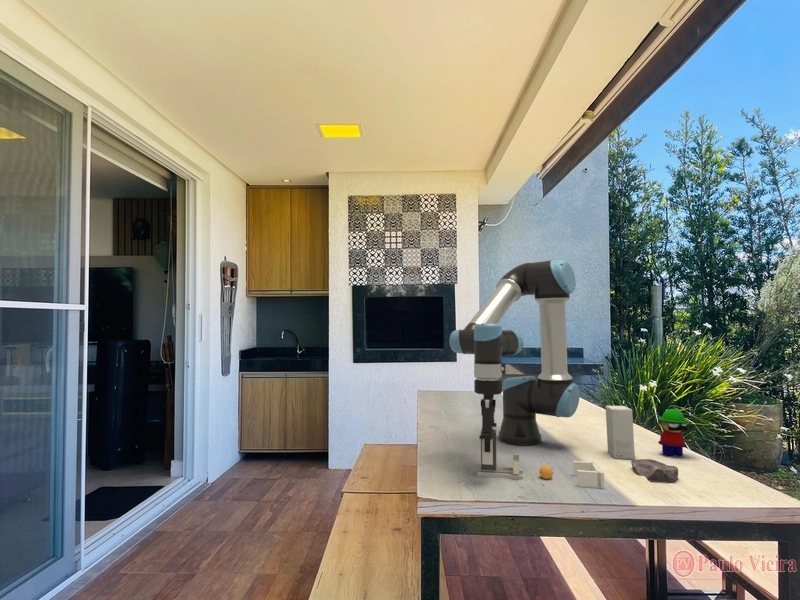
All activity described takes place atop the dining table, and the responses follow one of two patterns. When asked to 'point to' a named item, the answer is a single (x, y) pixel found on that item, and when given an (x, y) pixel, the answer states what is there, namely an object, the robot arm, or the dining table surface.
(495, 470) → the dark textured box
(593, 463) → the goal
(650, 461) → the rock
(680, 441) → the toy
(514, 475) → the pitch
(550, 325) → the robot arm
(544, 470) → the ball
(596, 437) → the dining table surface
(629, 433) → the skincare box
